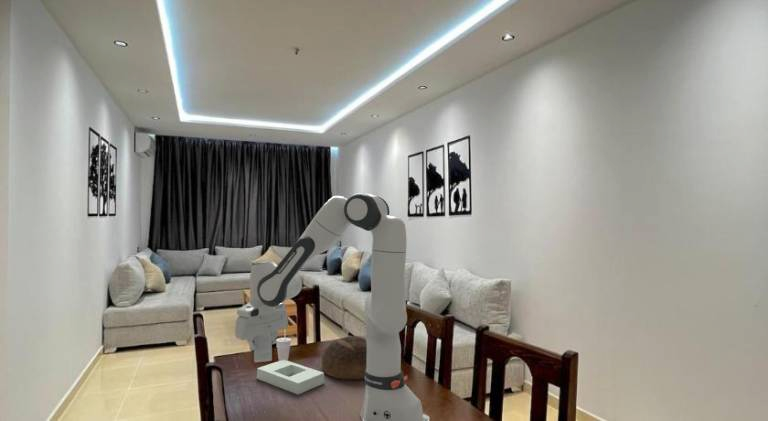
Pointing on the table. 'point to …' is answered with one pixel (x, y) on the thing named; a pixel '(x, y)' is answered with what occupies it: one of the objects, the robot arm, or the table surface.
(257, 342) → the skincare box
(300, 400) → the table surface
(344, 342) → the bread
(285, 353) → the smoothie
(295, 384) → the white rectangular holder
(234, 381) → the table surface
